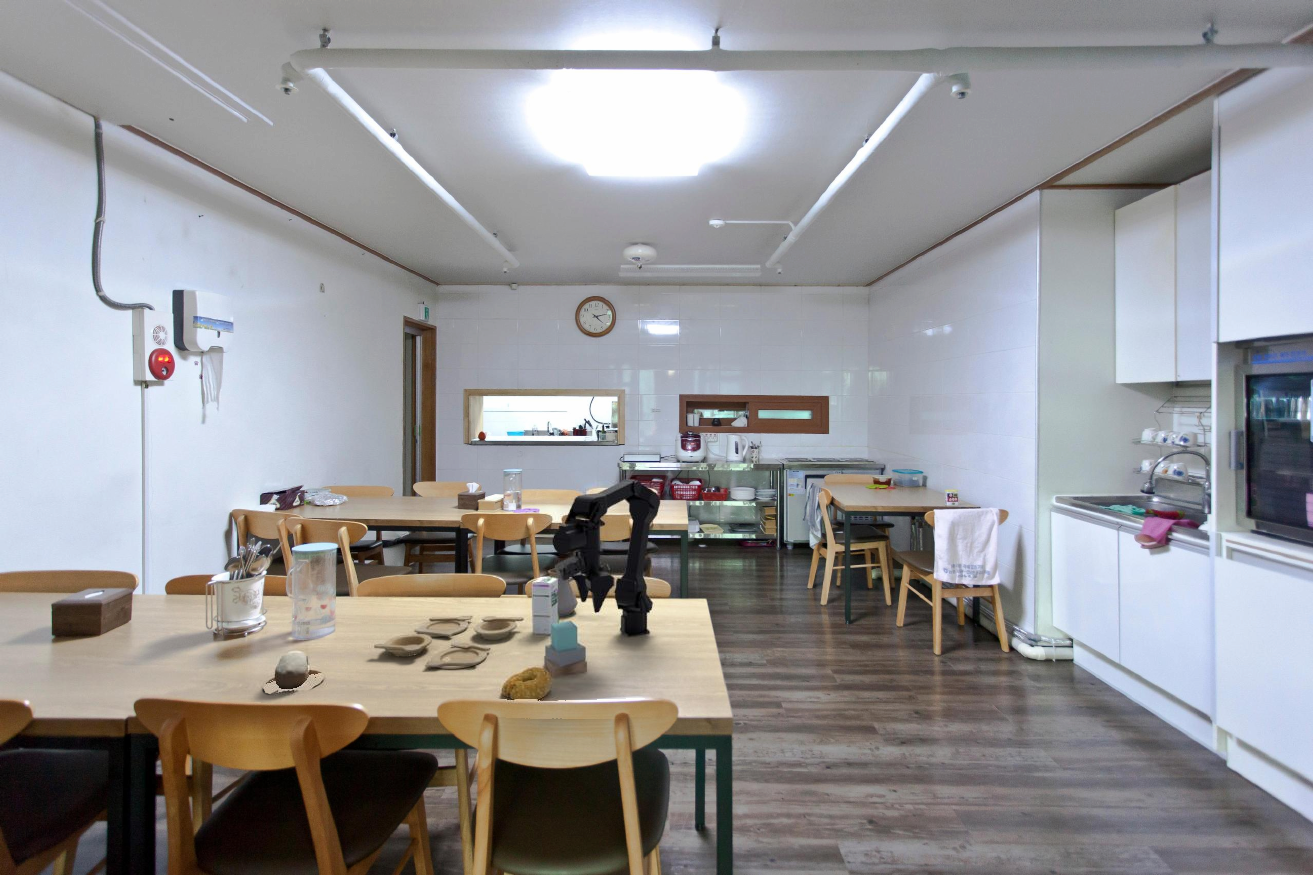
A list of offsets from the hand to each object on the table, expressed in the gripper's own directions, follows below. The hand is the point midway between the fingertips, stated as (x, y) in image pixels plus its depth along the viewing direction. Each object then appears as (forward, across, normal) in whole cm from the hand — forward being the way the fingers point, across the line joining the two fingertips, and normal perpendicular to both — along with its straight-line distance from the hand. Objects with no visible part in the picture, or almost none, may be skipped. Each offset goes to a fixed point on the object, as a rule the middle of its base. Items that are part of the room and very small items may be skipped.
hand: (590, 606), depth 159 cm
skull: (+11, -14, -66) cm, 68 cm away
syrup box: (+12, -22, -5) cm, 25 cm away
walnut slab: (+13, +6, -9) cm, 16 cm away
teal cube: (+7, +5, -9) cm, 12 cm away
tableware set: (+12, -24, -30) cm, 40 cm away
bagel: (+12, +15, -20) cm, 28 cm away
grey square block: (+10, +6, -9) cm, 14 cm away
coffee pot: (+13, -34, +8) cm, 37 cm away
